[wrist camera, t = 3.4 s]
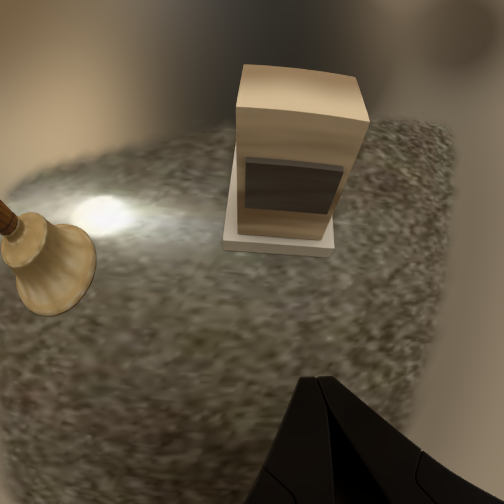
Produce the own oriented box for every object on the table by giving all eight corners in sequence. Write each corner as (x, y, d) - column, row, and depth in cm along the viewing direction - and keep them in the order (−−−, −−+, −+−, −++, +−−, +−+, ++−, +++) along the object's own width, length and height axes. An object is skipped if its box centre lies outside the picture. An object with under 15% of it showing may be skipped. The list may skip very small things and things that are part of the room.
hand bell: (115, 263, 23) (9, 98, 9) (47, 337, 20) (-112, 236, 6) (65, 210, 25) (-19, 71, 11) (6, 273, 22) (-108, 163, 8)
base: (329, 257, 24) (355, 209, 18) (223, 249, 24) (218, 197, 18) (322, 161, 28) (337, 107, 23) (236, 153, 28) (235, 97, 23)
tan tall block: (321, 244, 22) (371, 127, 13) (236, 238, 22) (235, 112, 13) (318, 195, 24) (355, 77, 15) (242, 189, 24) (243, 64, 15)
